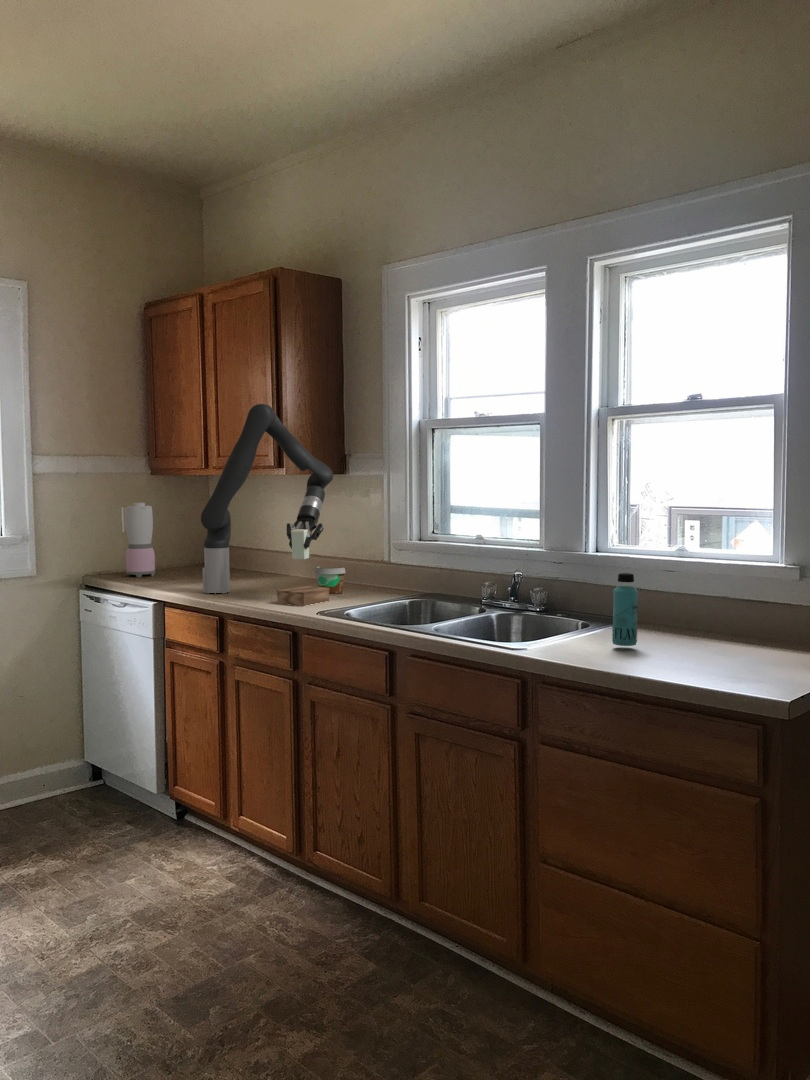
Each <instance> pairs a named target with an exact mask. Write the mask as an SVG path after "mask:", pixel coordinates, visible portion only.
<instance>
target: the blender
mask: <svg viewBox="0 0 810 1080" xmlns="http://www.w3.org/2000/svg"><path fill="white" fill-rule="evenodd" d="M153 516H154V515H153V507H152V505H146V503H145V502H133V503H132V505H127V506H125V531H126V537H127V540H128V541H127V542H128V547H127V549H126V551H125V562H126V563H125V565H126V575H127V576H132V575H133V576H134V575H135V576H136V578H142V575H150V577H154V576H155V573H156V560H155V559H156V558H155V557H156V556H155V550H154V548H153V546H152V545H153V544H152V539H153V532H154V531H153V530H154V523H153V522H154V521H153V520H154V519H153V518H154V517H153Z"/></svg>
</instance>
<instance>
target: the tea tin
mask: <svg viewBox="0 0 810 1080" xmlns="http://www.w3.org/2000/svg"><path fill="white" fill-rule="evenodd" d="M307 532H308V530H306V529H298V530H294V529H293V530H291V535H292V549H291V559H292V560H306V559H309V558H310V546H309V547H308V548H307V549H305V548H304V542H305V539H306V537H307Z"/></svg>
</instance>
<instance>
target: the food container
mask: <svg viewBox="0 0 810 1080" xmlns="http://www.w3.org/2000/svg"><path fill="white" fill-rule="evenodd" d="M315 573H316V575H317V584H318V585H317V587H325V588H329V594H339V595H343V594H342V593H343V592H344V591H343V590H344V579H345V574H346V573H347V572H346V569H345V567H338V568H335V567H333V568H331V567H329V568H323V567H320V566H316V568H315Z"/></svg>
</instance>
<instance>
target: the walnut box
mask: <svg viewBox="0 0 810 1080" xmlns="http://www.w3.org/2000/svg"><path fill="white" fill-rule="evenodd" d="M276 592H277V593H276V595H277V596H276V597H277V600H276V601H277V603H282V604H281V605H284V604H291V605H290V606H294V605H300V606H299V607H303V606H305V607H307V606H306V605H309V606H311V605H310V604H314V605H316V604H315V603H319V604H321V603H320V602H323V603H326V602H325V601H328V602H330V595H329V588H325V587H319V586H314V585H313V586H312V585H299V586H293V587H287V588H282V589H277V590H276ZM277 603H276V604H277Z"/></svg>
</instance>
